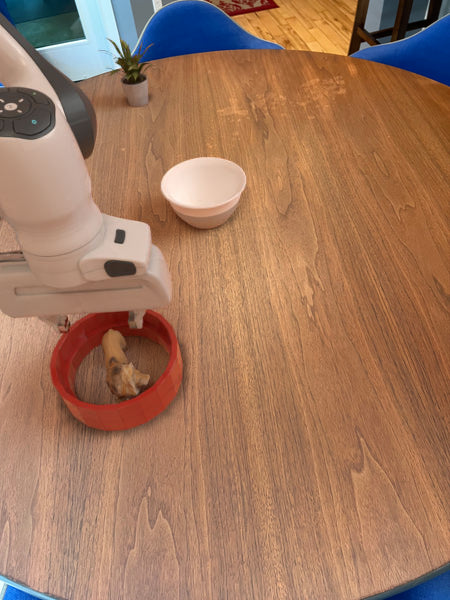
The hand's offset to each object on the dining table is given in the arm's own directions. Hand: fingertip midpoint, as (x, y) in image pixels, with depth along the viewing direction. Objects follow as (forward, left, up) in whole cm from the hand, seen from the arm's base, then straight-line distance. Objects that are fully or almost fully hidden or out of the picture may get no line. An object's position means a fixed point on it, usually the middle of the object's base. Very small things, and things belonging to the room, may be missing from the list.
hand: (100, 327), depth 62 cm
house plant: (-6, +87, -13) cm, 88 cm away
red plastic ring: (0, 0, -13) cm, 13 cm away
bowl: (+13, +36, -13) cm, 41 cm away
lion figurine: (+1, -1, -12) cm, 12 cm away
